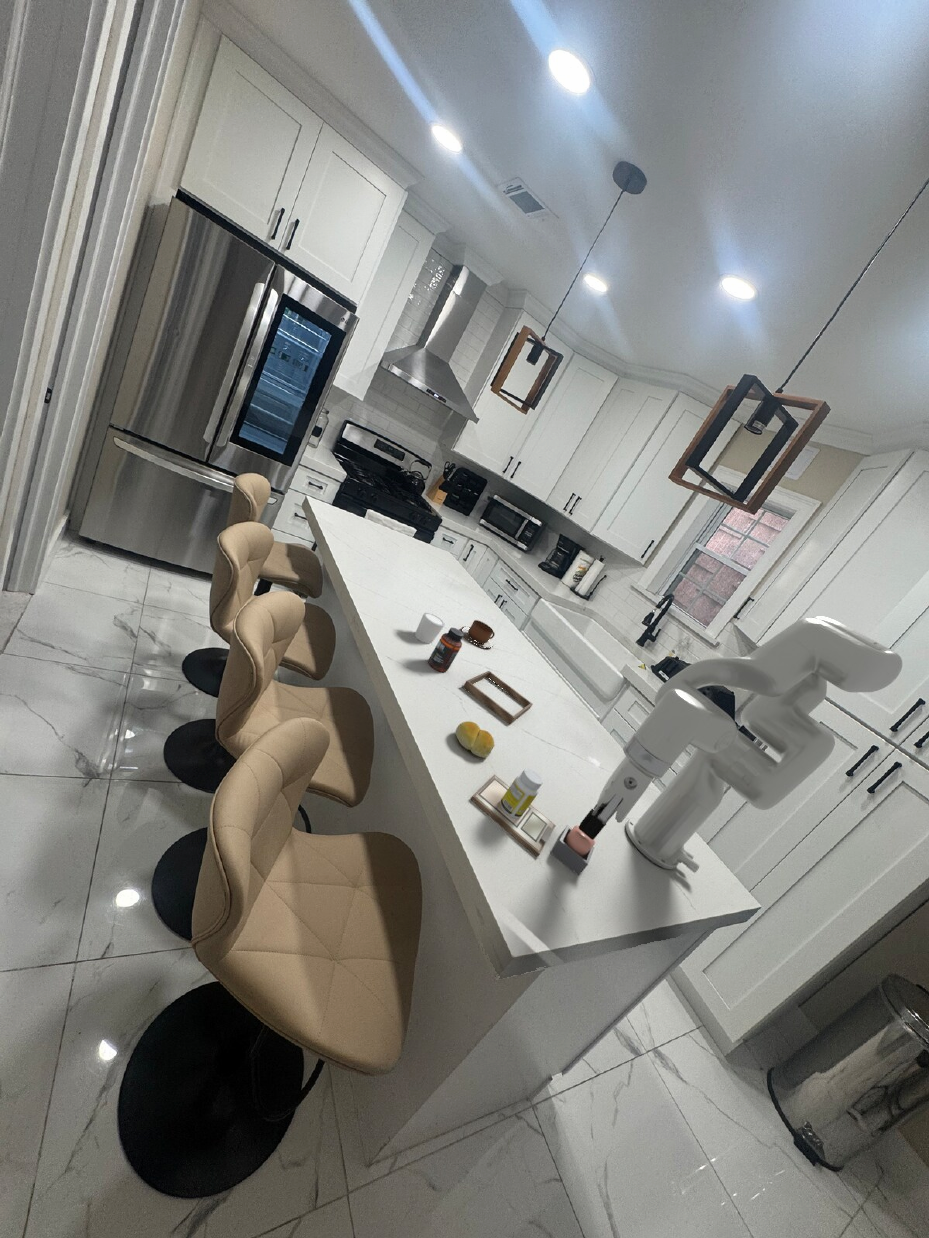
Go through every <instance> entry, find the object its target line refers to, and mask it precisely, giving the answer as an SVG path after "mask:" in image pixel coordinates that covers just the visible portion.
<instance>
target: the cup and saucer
mask: <svg viewBox="0 0 929 1238" xmlns="http://www.w3.org/2000/svg"><path fill="white" fill-rule="evenodd" d="M464 627H465V626H462V627H461V630H462V629H463V628H464ZM468 627H469V628H470V629H469V630H467V634H468V633H469V636H470V637H471V638H472V639H473V640H476V641H477V642H479V643H485V644H487V643H488V640H489V639H490V640H492V639H493V638H494V637H495V632H494V630H493V628H492V627H491V626H489V625H488V624H487V623H485V622H483V621H481V620H478V619H475V620H473V622H472V623H471V625H470V626H468ZM461 630H460V631H461ZM462 633H463V634H464V636H465V637H466V638H467V639H469V640H470V641H472V642H473V643H475V644H477V645H479V646H481V647H486V648H489V647H490V646H484V645H483V644H479V643H476V642H474V641H473V640H472V639H471V638H470V637H469V636H467V635H466V634H465V632H464V631H462ZM464 636H463V637H464ZM465 637H464V638H465ZM466 638H465V639H466ZM467 639H466V640H467ZM470 641H469V642H470ZM473 643H472V644H473ZM481 647H480V648H481ZM493 647H494V645H493V646H492V648H493ZM492 648H491V647H490V649H492Z"/></svg>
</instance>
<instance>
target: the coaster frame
mask: <svg viewBox="0 0 929 1238" xmlns="http://www.w3.org/2000/svg"><path fill="white" fill-rule="evenodd" d="M485 677H486V678H487V677H488V678H490V679H491V680H492V681H494V682H495V683H496V684H498V685H499V686H500V687H501V688H503V689H502V690H503V692H505V691H506V692H505V693H507V694H508V695H510V697H512V698H513V699H514V700H516V701H517V702H518V703H520V704H521V705H522V706H524V707H523V708H522V709H521V710H519V711H518V712H517V713H516V714H514V715H513V714H511V713H510V712H509V711H507V710H506V709H505V708H504V707H502V706H501V705H500V704H499V703H497V702H496V701H495V700H493V699H492V698H491V697H490V696H489V695H487V694H486V693H484V692H483V691H482V690H481V689H480V688H478V687H477V686H475V684H476V682H477V683H478V682H480V681H482V680H484V679H486V678H485ZM483 678H484V679H483ZM488 678H487V679H488ZM490 679H489V680H490ZM491 680H490V681H491ZM492 681H491V682H492ZM474 683H475V684H474ZM495 683H494V684H495ZM496 684H495V685H496ZM499 686H498V687H499ZM500 687H499V688H500ZM462 688H463V689H464V688H465V689H466V690H465V689H464V690H465V691H466V692H468V691H469V692H468V693H469V694H470V695H471V696H473V697H474V698H475V699H476V700H478V701H479V702H481V704H483V705H484V706H485V707H487V708H488V709H489V708H490V709H489V710H490V711H492V712H493V713H494V714H496V715H497V716H498V717H499V718H501V719H502V720H503V721H505V722H506V723H507V724H509V725H512V724H513V723H515V721H517V720H519V718H520V717H522V716H523V715H524V714H526V713H527V711H529V710H530V709H531V708H532V706H533V705H534V704H533V703H532V701H530V700H528V698H526V697H524V696H523V695H522V694H521V693H520V692H518V691H517V690H515V689H514V688H513V687H512V686H510V685H508V684H507V683H506V682H505V681H503V680H502V679H500V678H499V677H498V676H497V675H496V674H494V673H493V672H492V671H490V670H487V671H485V672H482V673H480V674H478V675H476V676H475V677H474V676H473V677H472V678H469V679H468V680H465V682H464V683H463V686H462ZM501 688H500V689H501Z"/></svg>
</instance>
